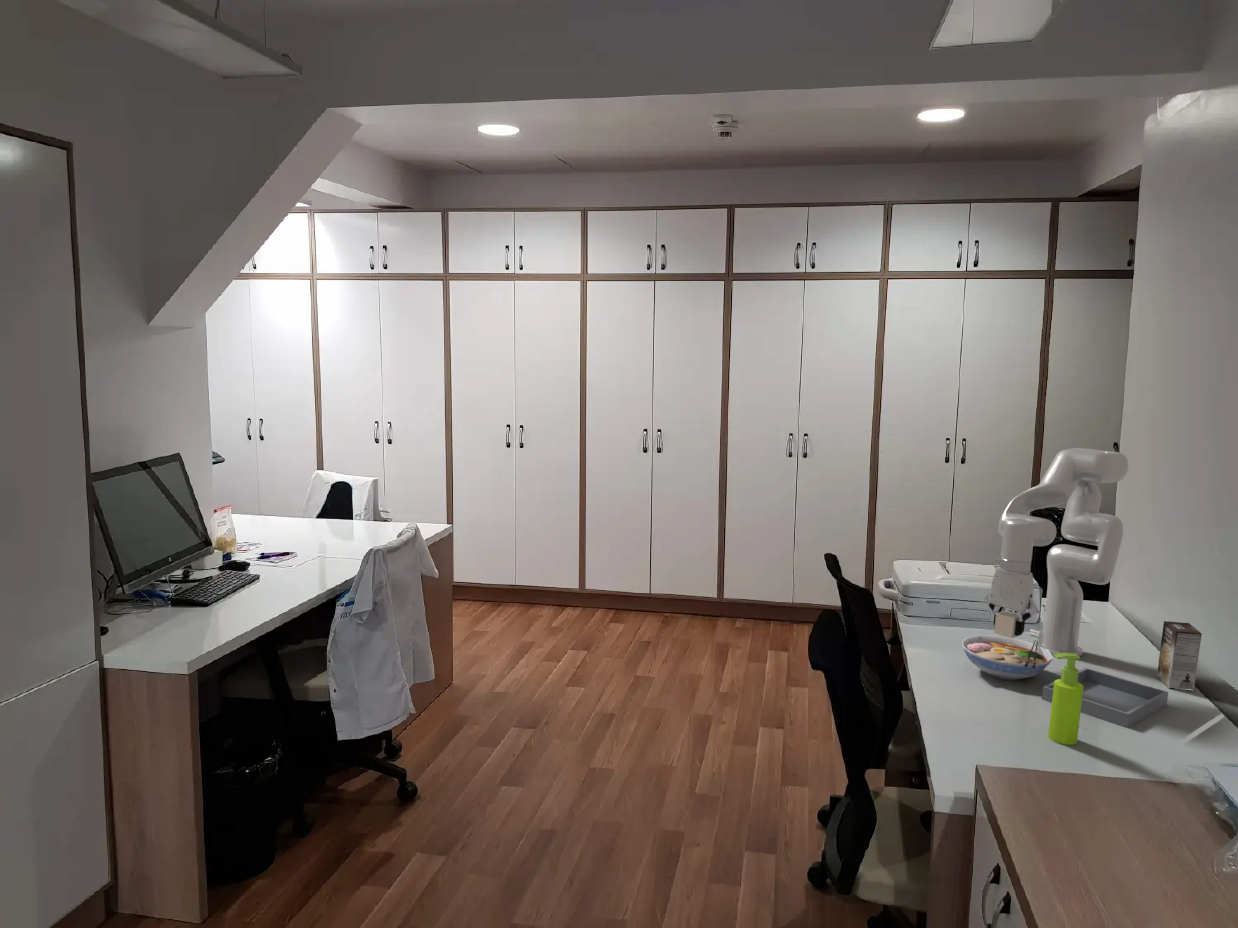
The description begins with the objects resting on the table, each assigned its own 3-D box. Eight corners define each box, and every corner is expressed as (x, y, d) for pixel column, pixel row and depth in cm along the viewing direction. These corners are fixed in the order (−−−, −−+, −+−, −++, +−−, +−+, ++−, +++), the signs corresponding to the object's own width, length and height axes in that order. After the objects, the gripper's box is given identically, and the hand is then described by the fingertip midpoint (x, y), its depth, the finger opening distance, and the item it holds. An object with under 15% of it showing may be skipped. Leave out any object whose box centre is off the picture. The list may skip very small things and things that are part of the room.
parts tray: (1041, 701, 224) (1042, 686, 223) (1084, 681, 239) (1085, 667, 239) (1126, 730, 209) (1128, 714, 208) (1166, 707, 224) (1168, 691, 223)
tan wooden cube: (994, 633, 240) (996, 613, 240) (1003, 629, 243) (1005, 610, 243) (1012, 638, 236) (1014, 618, 236) (1021, 635, 240) (1023, 615, 239)
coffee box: (1155, 676, 245) (1162, 620, 243) (1181, 679, 244) (1188, 622, 242) (1168, 689, 236) (1176, 630, 234) (1195, 691, 235) (1203, 632, 233)
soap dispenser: (1038, 733, 205) (1047, 649, 203) (1067, 733, 206) (1076, 649, 203) (1053, 744, 199) (1062, 658, 197) (1082, 744, 200) (1092, 659, 197)
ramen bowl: (966, 653, 258) (969, 626, 257) (1054, 670, 247) (1057, 641, 246) (951, 680, 237) (954, 650, 235) (1046, 700, 225) (1049, 669, 224)
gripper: (977, 560, 242) (971, 625, 244) (1040, 574, 229) (1032, 643, 231) (991, 557, 246) (985, 621, 249) (1053, 571, 233) (1046, 638, 236)
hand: (1008, 631), depth 240 cm, fingers closed on tan wooden cube, 5 cm apart
